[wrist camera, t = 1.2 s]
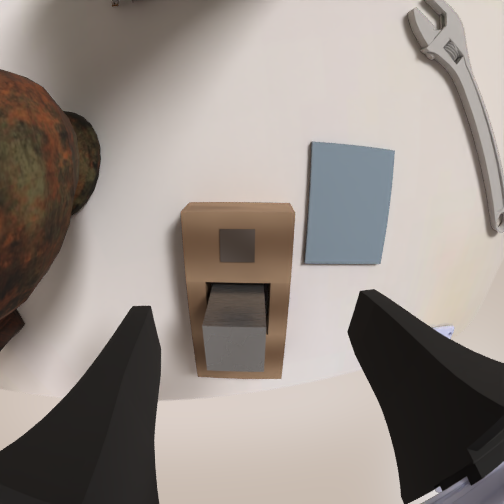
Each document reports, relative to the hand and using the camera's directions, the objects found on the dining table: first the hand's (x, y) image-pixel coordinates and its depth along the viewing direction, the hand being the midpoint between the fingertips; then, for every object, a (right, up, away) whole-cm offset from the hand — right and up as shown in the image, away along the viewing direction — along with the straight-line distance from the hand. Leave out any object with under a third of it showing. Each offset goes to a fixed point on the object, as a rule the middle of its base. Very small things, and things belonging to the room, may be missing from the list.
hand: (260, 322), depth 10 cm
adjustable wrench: (+20, +15, +10) cm, 27 cm away
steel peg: (-1, -1, +16) cm, 16 cm away
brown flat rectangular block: (-1, -1, +16) cm, 16 cm away
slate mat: (+8, +6, +13) cm, 17 cm away
